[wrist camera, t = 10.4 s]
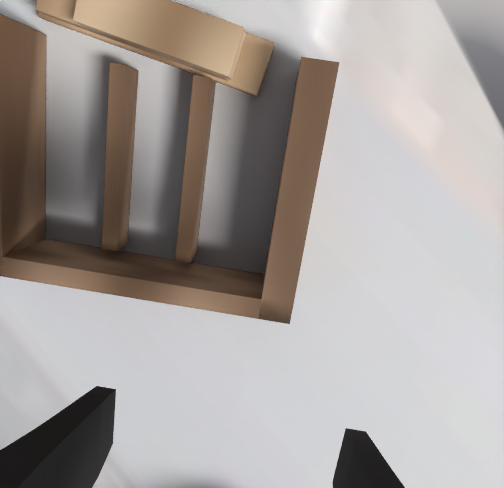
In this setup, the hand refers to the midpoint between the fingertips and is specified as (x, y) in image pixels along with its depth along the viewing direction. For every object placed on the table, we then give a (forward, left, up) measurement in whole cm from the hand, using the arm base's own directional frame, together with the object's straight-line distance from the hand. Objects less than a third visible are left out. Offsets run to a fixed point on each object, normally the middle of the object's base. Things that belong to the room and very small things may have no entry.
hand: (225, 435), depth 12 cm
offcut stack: (-6, +13, -11) cm, 18 cm away
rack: (-6, +7, -10) cm, 14 cm away
